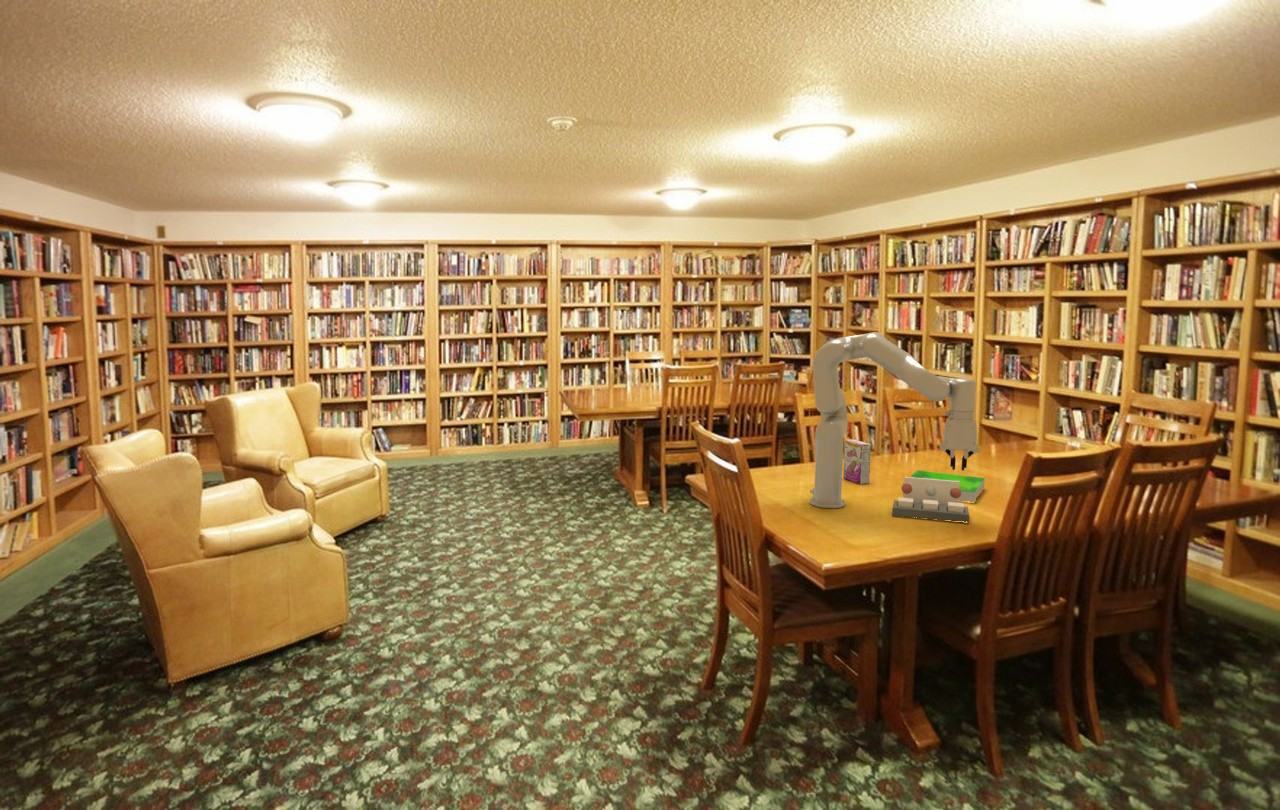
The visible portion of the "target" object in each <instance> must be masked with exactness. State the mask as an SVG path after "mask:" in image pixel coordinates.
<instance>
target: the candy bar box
mask: <svg viewBox="0 0 1280 810" xmlns="http://www.w3.org/2000/svg"><path fill="white" fill-rule="evenodd" d="M843 446H844V447H843V448H844V449H843V473H842V479H845V480H847V481H848V482H849V481H850V482H853V483H854V484H855V483H856V484H858V485H867V484H870V475H871V473H870V472H871V451H872V450H871V449H872V444H870V443H868V442H864V441H860V440H857V439H855V438H854V439H845V440H844V445H843Z"/></svg>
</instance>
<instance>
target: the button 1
mask: <svg viewBox="0 0 1280 810" xmlns="http://www.w3.org/2000/svg"><path fill="white" fill-rule="evenodd" d="M897 501H898V506H899V507H909V508H913V499H912V498H903V497H899V496H898V499H897Z"/></svg>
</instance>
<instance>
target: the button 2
mask: <svg viewBox="0 0 1280 810" xmlns="http://www.w3.org/2000/svg"><path fill="white" fill-rule="evenodd" d="M964 505H965V503H961V502H958V503H955V502H948V511H950V512H961V513H964V507H965V506H964Z"/></svg>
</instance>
